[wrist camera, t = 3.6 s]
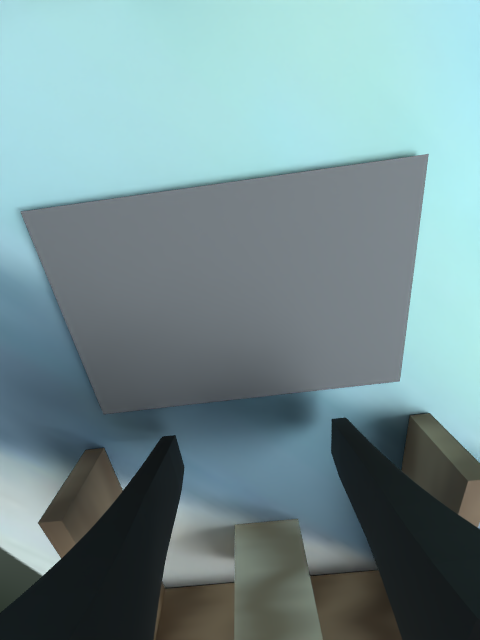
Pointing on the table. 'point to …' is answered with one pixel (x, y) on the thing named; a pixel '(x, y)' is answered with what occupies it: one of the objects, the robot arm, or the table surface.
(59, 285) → the mat
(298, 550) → the birch block
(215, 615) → the open wooden frame
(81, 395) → the table surface
